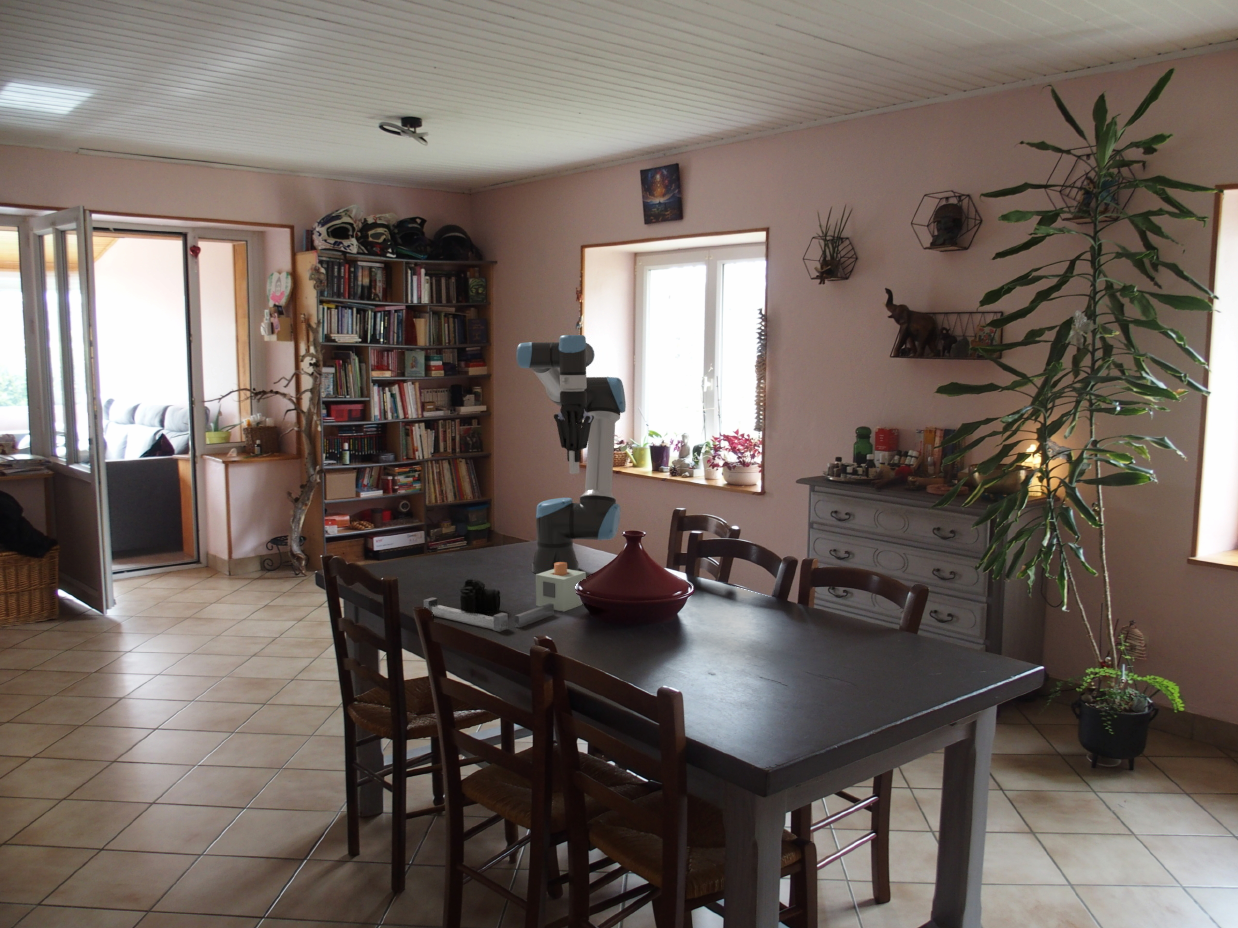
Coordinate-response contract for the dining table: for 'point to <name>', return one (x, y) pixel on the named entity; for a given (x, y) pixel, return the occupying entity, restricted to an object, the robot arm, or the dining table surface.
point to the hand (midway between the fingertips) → (574, 473)
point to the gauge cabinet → (558, 589)
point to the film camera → (479, 597)
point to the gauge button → (560, 568)
